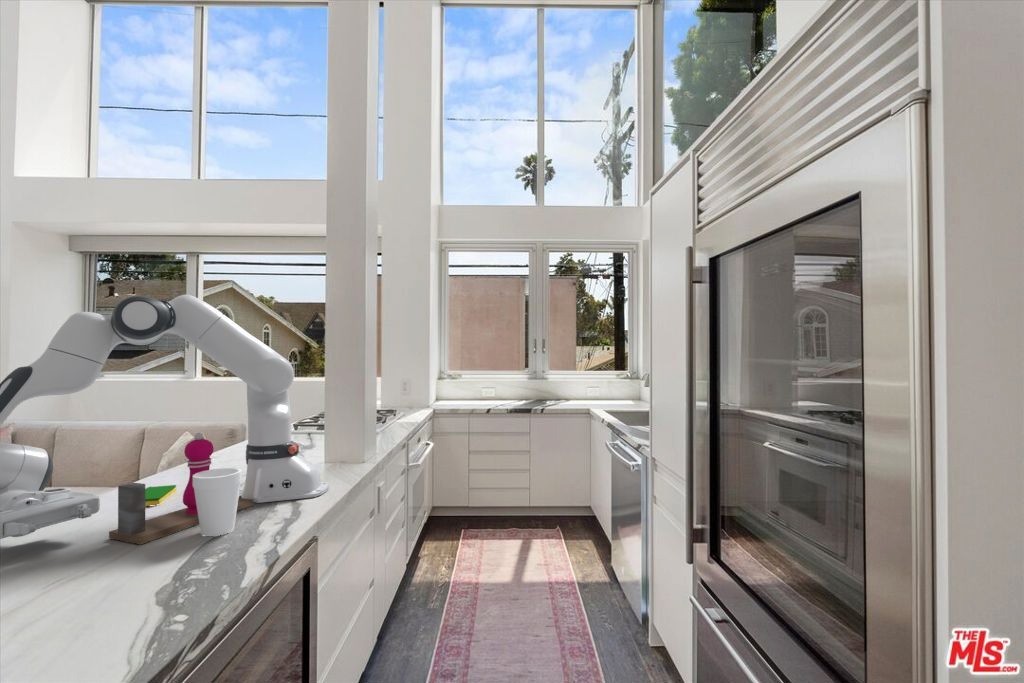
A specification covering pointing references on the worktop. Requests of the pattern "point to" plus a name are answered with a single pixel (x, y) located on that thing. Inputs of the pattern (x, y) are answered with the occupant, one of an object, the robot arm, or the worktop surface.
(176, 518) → the strip
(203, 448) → the pepper mill
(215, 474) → the foam cup
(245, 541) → the worktop surface
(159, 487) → the dish sponge
